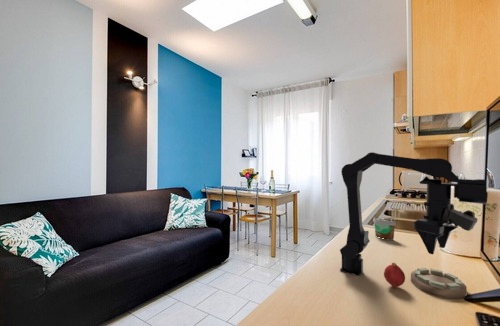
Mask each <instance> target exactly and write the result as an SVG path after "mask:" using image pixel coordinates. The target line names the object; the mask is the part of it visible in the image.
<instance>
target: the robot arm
mask: <svg viewBox="0 0 500 326" xmlns="http://www.w3.org/2000/svg"><path fill="white" fill-rule="evenodd" d="M375 164H376V165H380V166H386V167H393V168H398V169H406V170H411V171H415V172H418V173H422V174H424V175H427V176H425V177H424V178H423V179H422V180H420V181H419V184H420V185H426V201H424V202H423V206H424V207H425V206H426V208H425V209H426V211H425V212H426V214H424V215H423V218H420V219H417V220H415V221H413V229H414V230H415V231H416V232H417V233H418V236H419V237H420V239H421V240H422V242H423V244H424V247H425V248H426V250H427V253H428V254H430V255H434V254H435V251H436V245H437V242H438V246H439V247H440V248H441V249H445V248H446V245H447V243H448V240H449V237H450V235H451V233H452V232H453V231H454V230H456V229H457V228H459V227H460V228H461V229H462V230H464V231H467V232H470V231H472V230H473V229H474V227H475V225H476V224H477V223H478V221H479V219H478V218H477V217H476V215H475V212H474V211H471V210H465V211H463V212H462V211H461V210H457V209H455V205H454V204H453V203H452V202H451V201H452V187H453V198H455V199H458V202H459V203H461V202H462V203H470V204H471V203H472V204H479V205H481V204H482V205H487V203H488V197H489V196H488V194H489V193H488V191H487V183H486V182H487V180H486V179H481V178H477V179H470V178H469V179H468V178H467V179H466V178H465V179H464V178H459V176H458V175H456V174H455V173H454V172H453V166H452V164H451V162H450V161H449V160H447V159H445V158H439V157H438V158H434V157H433V158H413V157H404V156H398V155H397V156H396V155H389V154H383V153H382V154H381V153H377V152H368V153H367V154H366V155H364V156H362V157H361V158H359V159H357V160H355V161H354V162H352V163H348V164H347V163H346V164H345V165H344V166H343V167H341V177H342V180H343V183H344V185H345V188H346V192H347V193H346V195H347V209H348V220H349V221H348V222H349V228H348V231H347V237H346V244H345V245H343V246H342V247H341V248H340V249H339V252H340V255H341V267H340V268H339V271H340V272H344V273H347V274H352V275H355V276H360V275H361V274H362V272H363V271H364V259H363V258H362V254H361V253H362V252H363V251H364V250H365V249H366V248H367V246H368V244H369V243H370V239H369V230H365V229H364V227H363V215H362V204H361V203H362V202H361V191H360V190H361V189H360V188H361V185H362V180H363V179H362V178H363V172H365V171H367V170H368V169H369V168H371V167H372V166H374V165H375ZM428 176H430V177H433V178H430V177H428ZM439 178H440V179H439ZM442 179H445V180H446V181H448V182H442Z"/></svg>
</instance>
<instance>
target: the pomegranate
mask: <svg viewBox="0 0 500 326" xmlns="http://www.w3.org/2000/svg"><path fill="white" fill-rule="evenodd" d="M383 277H384V279H385V281H386V282H387V283H388V284H389V285H390V286H391V287H392V288H398V287H401V286H402V285H403V284H405V281H406V275H405V273H404V270H402V268H401V267H400V266H398V265H397V264H396V262H392V263H391V264H389V265H388V266H386V267H385V268H384V271H383Z"/></svg>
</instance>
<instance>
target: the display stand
mask: <svg viewBox="0 0 500 326" xmlns="http://www.w3.org/2000/svg"><path fill="white" fill-rule="evenodd" d="M410 282H411V283H412V285H414V286H415V288H418V289H419V290H421V291H424V292H426V293H427V294H430V295H433V296H437V297H441V298H444V299H445V298H446V299H452V300H459V299H464V298H465V297H464V296H465V295H466V296H467V292H468V291H467V288H468V287H467V285H466V284H465V283H464V282H463V281H462V280H461V279H459V277H458V276H455V275H453V274H452V273H449V272H443V271H442V270H439V269H435V268H430V269H428V268H426V267H420V268H419V267H417V268H416V269H414V271H411V273H410ZM463 297H464V298H463Z"/></svg>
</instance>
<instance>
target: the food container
mask: <svg viewBox="0 0 500 326" xmlns="http://www.w3.org/2000/svg"><path fill="white" fill-rule="evenodd" d="M372 222H373V223H374V224H373V225H374V234H375V235H374V236H375V237H376V236H377V237H380V238H384V239H394V237H395V236H394V235H395V228H396V227H395V226H396V225H397V223H396V220H395V221H392V220H391V221H390V220H388V219H384V218H383V219H382V218H378V216H374V217H373V220H372ZM377 237H376V238H377ZM380 238H379V239H380ZM384 239H383V240H384Z"/></svg>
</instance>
